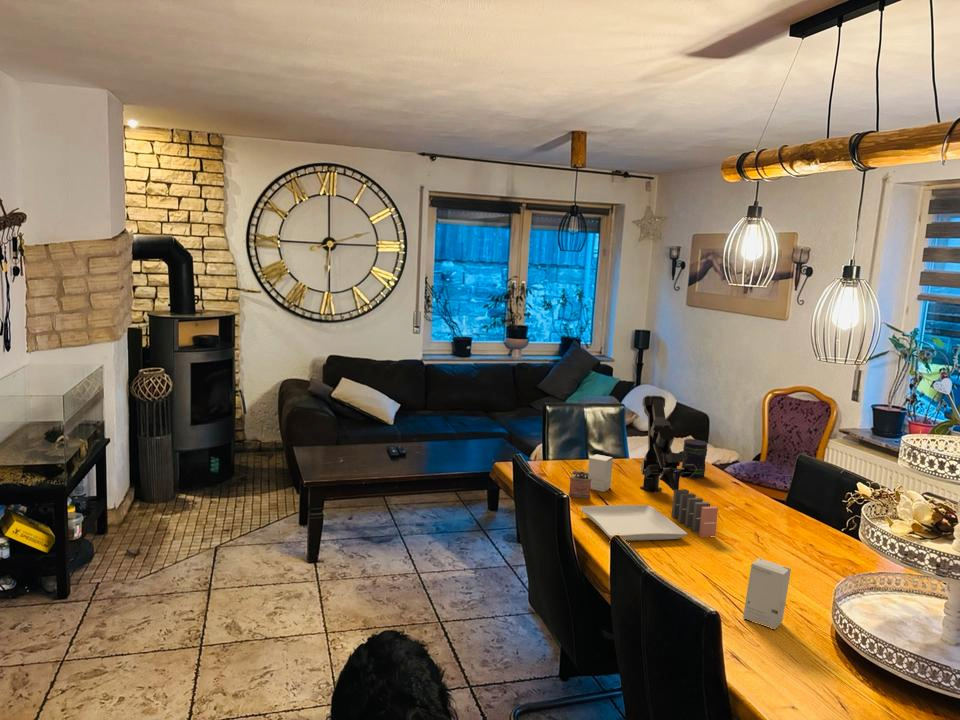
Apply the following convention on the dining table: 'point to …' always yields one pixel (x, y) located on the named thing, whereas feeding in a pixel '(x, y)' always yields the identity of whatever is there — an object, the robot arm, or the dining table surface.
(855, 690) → the dining table surface
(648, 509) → the square plate
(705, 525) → the domino
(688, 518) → the domino
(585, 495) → the lighter
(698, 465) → the storage jar
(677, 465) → the robot arm
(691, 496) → the domino
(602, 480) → the supplement box
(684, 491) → the domino
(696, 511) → the domino
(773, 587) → the skincare box
